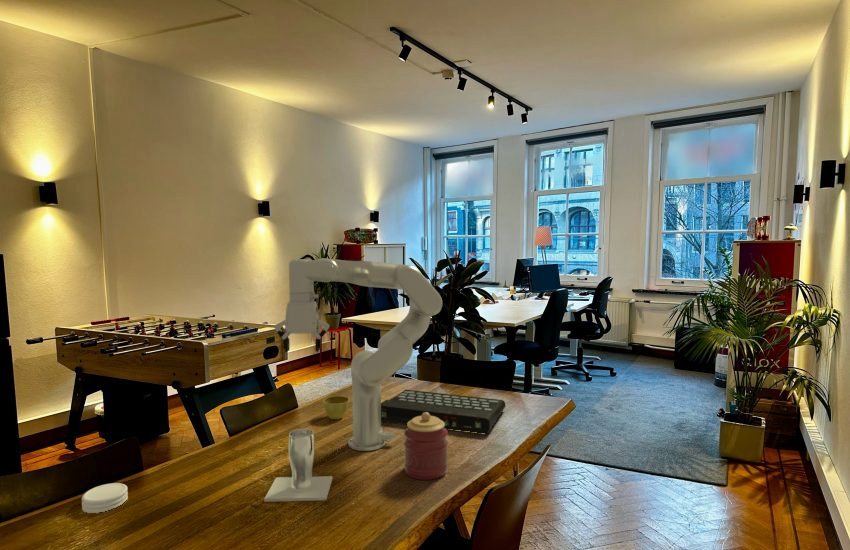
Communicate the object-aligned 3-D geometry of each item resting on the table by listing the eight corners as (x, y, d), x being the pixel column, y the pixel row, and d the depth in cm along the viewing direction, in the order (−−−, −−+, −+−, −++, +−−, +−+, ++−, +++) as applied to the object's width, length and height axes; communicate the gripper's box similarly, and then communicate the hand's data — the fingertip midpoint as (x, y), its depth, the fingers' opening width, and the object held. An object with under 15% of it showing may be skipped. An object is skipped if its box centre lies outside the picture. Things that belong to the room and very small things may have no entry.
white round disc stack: (77, 518, 121) (76, 504, 120) (87, 499, 130) (86, 486, 130) (124, 509, 124) (123, 496, 124) (130, 492, 134) (130, 479, 133)
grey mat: (332, 478, 140) (332, 476, 140) (326, 500, 128) (326, 497, 128) (276, 480, 140) (276, 477, 140) (264, 501, 128) (264, 498, 128)
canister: (452, 479, 140) (452, 418, 139) (407, 482, 138) (406, 421, 137) (442, 460, 153) (443, 404, 152) (401, 463, 151) (401, 406, 150)
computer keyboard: (505, 412, 199) (505, 396, 199) (489, 437, 173) (489, 418, 173) (403, 401, 215) (403, 385, 215) (375, 421, 189) (374, 404, 188)
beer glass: (308, 494, 130) (307, 438, 129) (284, 491, 132) (283, 436, 131) (319, 481, 137) (318, 429, 136) (296, 479, 138) (295, 427, 138)
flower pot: (353, 418, 191) (353, 400, 190) (329, 424, 185) (329, 405, 185) (342, 411, 199) (342, 394, 199) (319, 416, 193) (319, 398, 193)
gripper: (330, 296, 160) (331, 348, 161) (277, 296, 160) (278, 348, 161) (327, 298, 153) (327, 353, 154) (271, 299, 152) (272, 353, 153)
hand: (302, 350), depth 157 cm, fingers open, 9 cm apart
